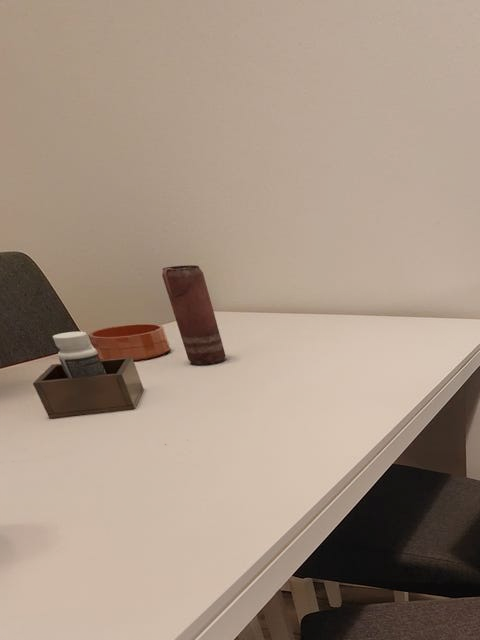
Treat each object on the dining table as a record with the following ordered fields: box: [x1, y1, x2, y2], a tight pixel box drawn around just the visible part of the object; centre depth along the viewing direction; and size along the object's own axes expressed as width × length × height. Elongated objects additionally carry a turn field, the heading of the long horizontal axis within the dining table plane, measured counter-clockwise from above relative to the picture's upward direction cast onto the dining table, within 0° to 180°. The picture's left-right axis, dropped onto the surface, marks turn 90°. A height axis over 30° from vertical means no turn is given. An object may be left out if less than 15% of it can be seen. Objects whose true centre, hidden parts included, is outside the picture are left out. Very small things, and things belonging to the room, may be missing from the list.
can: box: [161, 264, 226, 366], centre depth 98 cm, size 6×6×14 cm
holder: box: [32, 357, 144, 419], centre depth 82 cm, size 11×11×4 cm
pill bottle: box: [52, 331, 106, 378], centre depth 81 cm, size 5×5×8 cm
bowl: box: [87, 323, 171, 362], centre depth 106 cm, size 12×12×4 cm
